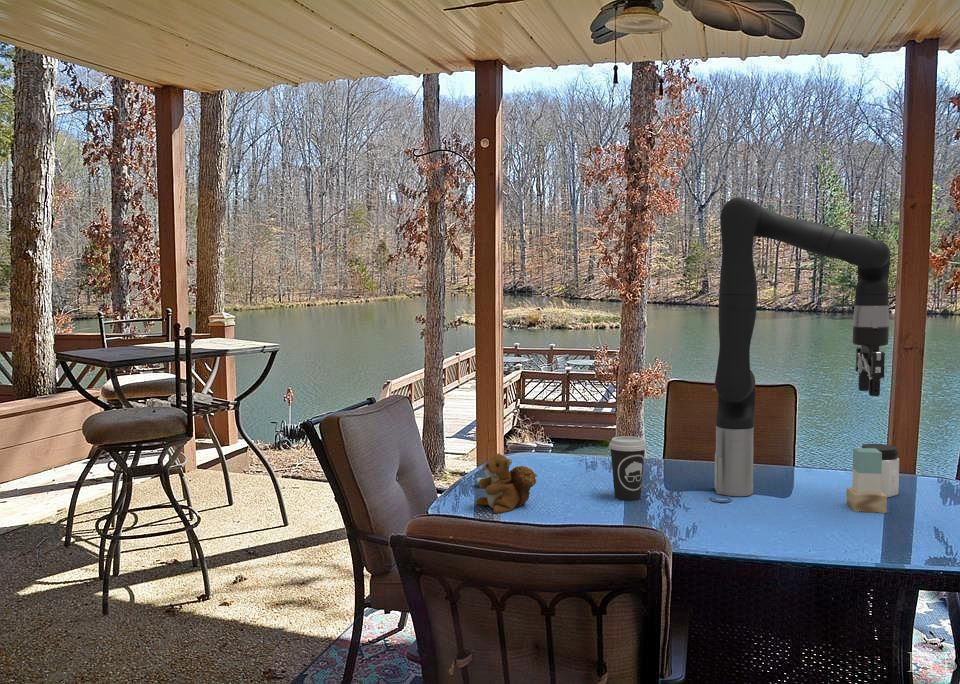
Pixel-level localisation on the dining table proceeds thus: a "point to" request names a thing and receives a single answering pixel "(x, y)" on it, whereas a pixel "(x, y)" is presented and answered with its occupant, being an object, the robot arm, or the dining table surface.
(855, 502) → the base block
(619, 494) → the coffee cup
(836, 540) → the dining table surface
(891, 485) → the jar
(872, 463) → the teal cube
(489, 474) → the pacifier
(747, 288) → the robot arm
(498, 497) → the stuffed squirrel
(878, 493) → the cream cube
